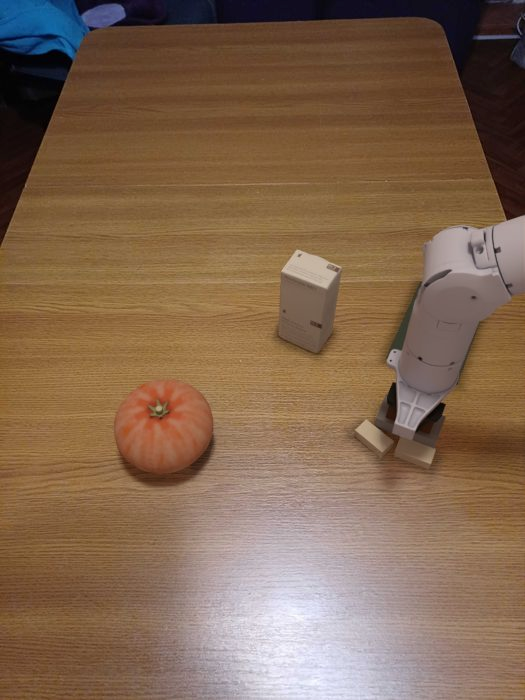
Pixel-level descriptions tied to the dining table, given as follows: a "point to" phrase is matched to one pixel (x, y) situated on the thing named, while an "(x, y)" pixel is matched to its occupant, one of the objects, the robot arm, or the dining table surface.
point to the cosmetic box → (308, 300)
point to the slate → (403, 328)
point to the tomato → (163, 426)
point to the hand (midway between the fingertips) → (412, 416)
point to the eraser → (424, 435)
